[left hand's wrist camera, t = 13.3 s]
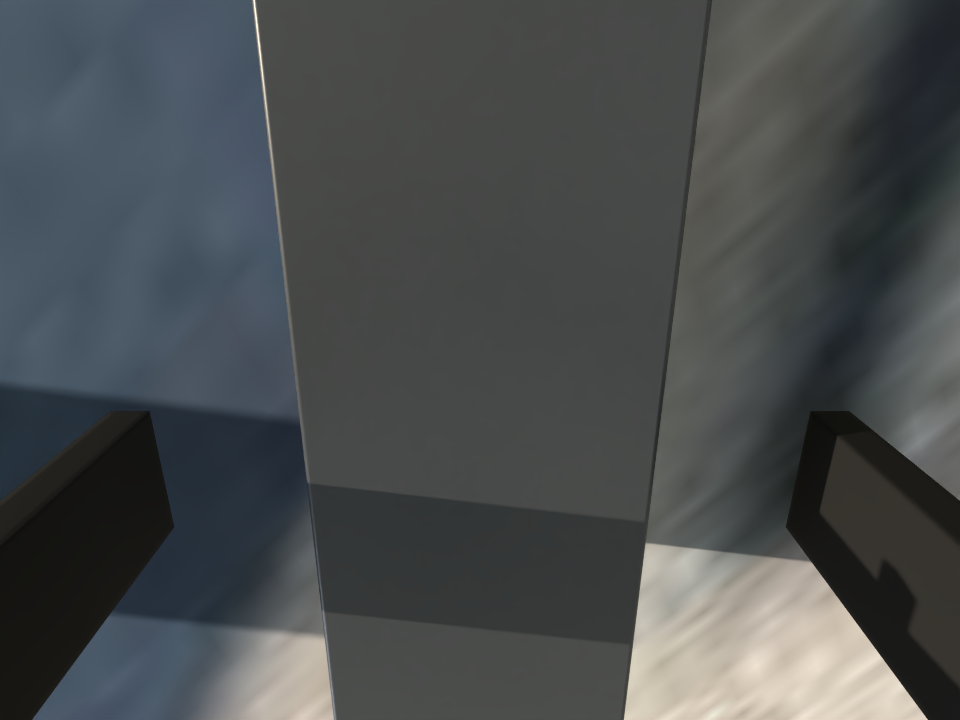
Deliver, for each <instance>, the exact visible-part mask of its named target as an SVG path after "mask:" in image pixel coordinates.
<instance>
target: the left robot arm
mask: <svg viewBox="0 0 960 720" xmlns="http://www.w3.org/2000/svg"><path fill="white" fill-rule="evenodd" d="M173 528H174V524H173V520H172V515H171V510H170V506H169V501H168V496H167V491H166V487H165V482H164V477H163V473H162V468H161V463H160V459H159V454H158V449H157V444H156V440H155V435H154V430H153V426H152V421H151V416H150V412H149V411H111V412H109V413H108V414H107V415H106V416H104V417H103V418H102V419H101V420H99V421H98V422H97V423H96V424H95V425H93V426H92V427H91V428H90V429H88V430H87V431H86V432H85V433H83V434H82V435H81V436H80V437H78V438H77V439H76V440H75V441H74V442H72V443H71V444H70V445H69V446H67V447H66V448H65V449H64V450H62V451H61V452H60V453H59V454H57V455H56V456H55V457H54V458H53V459H51V460H50V461H49V462H48V463H46V464H45V465H44V466H43V467H41V468H40V469H39V470H38V471H36V472H35V473H34V474H33V475H32V476H30V477H29V478H28V479H27V480H25V481H24V482H23V483H22V484H20V485H19V486H18V487H17V488H16V489H14V490H13V491H12V492H11V493H9V494H8V495H7V496H6V497H4V498H3V499H2V500H1V501H0V720H32V719H33V718H34V716H35V715H36V714H37V712H38V711H39V710H40V708H41V707H42V705H43V704H44V703H45V701H46V700H47V699H48V697H49V696H50V695H51V693H52V692H53V691H54V689H55V688H56V687H57V685H58V684H59V682H60V681H61V680H62V678H63V677H64V676H65V674H66V673H67V672H68V670H69V669H70V668H71V666H72V665H73V663H74V662H75V661H76V659H77V658H78V657H79V655H80V654H81V653H82V651H83V650H84V649H85V647H86V646H87V644H88V643H89V642H90V640H91V639H92V638H93V636H94V635H95V634H96V632H97V631H98V630H99V628H100V627H101V625H102V624H103V623H104V621H105V620H106V619H107V617H108V616H109V615H110V613H111V612H112V611H113V609H114V608H115V607H116V605H117V604H118V602H119V601H120V600H121V598H122V597H123V596H124V594H125V593H126V592H127V590H128V589H129V588H130V586H131V585H132V583H133V582H134V581H135V579H136V578H137V577H138V575H139V574H140V573H141V571H142V570H143V569H144V567H145V566H146V564H147V563H148V562H149V560H150V559H151V558H152V556H153V555H154V554H155V552H156V551H157V550H158V548H159V547H160V545H161V544H162V543H163V541H164V540H165V539H166V537H167V536H168V535H169V533H170V532H171V531H172V529H173ZM786 528H787V529H788V531H789V532H790V533H791V535H792V536H793V537H794V539H795V540H796V541H797V543H798V544H799V545H800V547H801V548H802V550H803V551H804V552H805V554H806V555H807V556H808V558H809V559H810V560H811V562H812V563H813V564H814V566H815V567H816V569H817V570H818V571H819V573H820V574H821V575H822V577H823V578H824V579H825V581H826V582H827V583H828V585H829V586H830V588H831V589H832V590H833V592H834V593H835V594H836V596H837V597H838V598H839V600H840V601H841V602H842V604H843V605H844V607H845V608H846V609H847V611H848V612H849V613H850V615H851V616H852V617H853V619H854V620H855V621H856V623H857V624H858V625H859V627H860V628H861V630H862V631H863V632H864V634H865V635H866V636H867V638H868V639H869V640H870V642H871V643H872V644H873V646H874V647H875V649H876V650H877V651H878V653H879V654H880V655H881V657H882V658H883V659H884V661H885V662H886V663H887V665H888V666H889V668H890V669H891V670H892V672H893V673H894V674H895V676H896V677H897V678H898V680H899V681H900V682H901V684H902V685H903V687H904V688H905V689H906V691H907V692H908V693H909V695H910V696H911V697H912V699H913V700H914V701H915V703H916V704H917V705H918V707H919V708H920V710H921V711H922V712H923V714H924V715H925V716H926V718H927V719H928V720H960V501H959V500H958V499H957V498H956V497H954V496H953V495H952V494H951V493H949V492H948V491H947V490H946V489H944V488H943V487H942V486H941V485H940V484H938V483H937V482H936V481H935V480H933V479H932V478H931V477H930V476H928V475H927V474H926V473H925V472H923V471H922V470H921V469H920V468H919V467H917V466H916V465H915V464H914V463H912V462H911V461H910V460H909V459H907V458H906V457H905V456H904V455H903V454H901V453H900V452H899V451H898V450H896V449H895V448H894V447H893V446H891V445H890V444H889V443H888V442H886V441H885V440H884V439H883V438H882V437H880V436H879V435H878V434H877V433H875V432H874V431H873V430H872V429H870V428H869V427H868V426H867V425H865V424H864V423H863V422H862V421H861V420H859V419H858V418H857V417H856V416H854V415H853V414H852V413H851V412H849V411H811V412H810V416H809V421H808V426H807V430H806V435H805V440H804V444H803V449H802V454H801V459H800V463H799V468H798V473H797V477H796V482H795V487H794V491H793V496H792V501H791V506H790V510H789V515H788V520H787V524H786Z"/></svg>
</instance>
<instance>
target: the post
mask: <svg viewBox="0 0 960 720" xmlns="http://www.w3.org/2000/svg"><path fill="white" fill-rule="evenodd" d="M711 4H712V0H252V5H253V14H254V23H255V31H256V40H257V49H258V58H259V66H260V75H261V84H262V93H263V101H264V110H265V119H266V127H267V136H268V145H269V154H270V162H271V171H272V180H273V189H274V197H275V206H276V215H277V224H278V232H279V241H280V250H281V259H282V267H283V276H284V285H285V294H286V302H287V311H288V320H289V329H290V337H291V346H292V355H293V364H294V372H295V381H296V390H297V399H298V407H299V416H300V425H301V434H302V442H303V451H304V460H305V469H306V477H307V486H308V495H309V504H310V512H311V521H312V530H313V538H314V547H315V556H316V565H317V573H318V582H319V591H320V600H321V608H322V617H323V626H324V635H325V643H326V652H327V661H328V670H329V678H330V687H331V696H332V705H333V713H334V720H624V714H625V705H626V697H627V689H628V681H629V673H630V665H631V656H632V648H633V640H634V632H635V624H636V616H637V607H638V599H639V591H640V583H641V575H642V567H643V559H644V550H645V542H646V534H647V526H648V518H649V510H650V501H651V493H652V485H653V477H654V469H655V461H656V452H657V444H658V436H659V428H660V420H661V412H662V403H663V395H664V387H665V379H666V371H667V363H668V355H669V346H670V338H671V330H672V322H673V314H674V306H675V297H676V289H677V281H678V273H679V265H680V257H681V248H682V240H683V232H684V224H685V216H686V208H687V200H688V191H689V183H690V175H691V167H692V159H693V151H694V142H695V134H696V126H697V118H698V110H699V102H700V93H701V85H702V77H703V69H704V61H705V53H706V44H707V36H708V28H709V20H710V12H711Z"/></svg>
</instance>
